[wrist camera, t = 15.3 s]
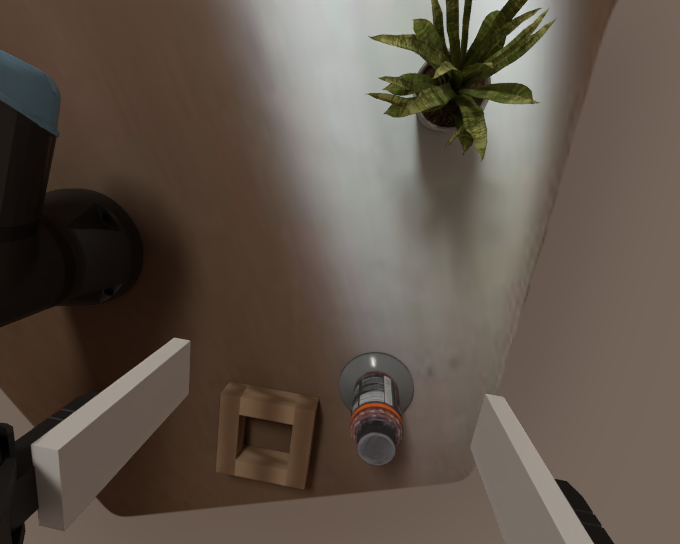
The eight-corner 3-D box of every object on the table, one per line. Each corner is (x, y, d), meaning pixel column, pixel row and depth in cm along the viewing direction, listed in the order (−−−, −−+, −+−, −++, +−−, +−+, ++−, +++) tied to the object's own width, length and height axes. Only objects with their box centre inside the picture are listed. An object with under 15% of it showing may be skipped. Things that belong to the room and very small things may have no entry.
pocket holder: (224, 455, 52) (216, 471, 49) (229, 381, 49) (220, 393, 46) (308, 472, 51) (304, 489, 48) (319, 397, 48) (315, 411, 45)
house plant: (423, -9, 35) (461, -168, 20) (536, 60, 36) (663, -41, 20) (354, 121, 39) (340, 76, 23) (457, 182, 39) (512, 179, 24)
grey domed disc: (335, 410, 48) (334, 412, 48) (345, 346, 46) (344, 348, 45) (405, 423, 48) (405, 426, 47) (419, 359, 45) (420, 361, 45)
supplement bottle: (397, 409, 47) (403, 477, 36) (353, 406, 47) (346, 472, 36) (399, 370, 45) (407, 428, 34) (354, 367, 46) (348, 423, 35)
